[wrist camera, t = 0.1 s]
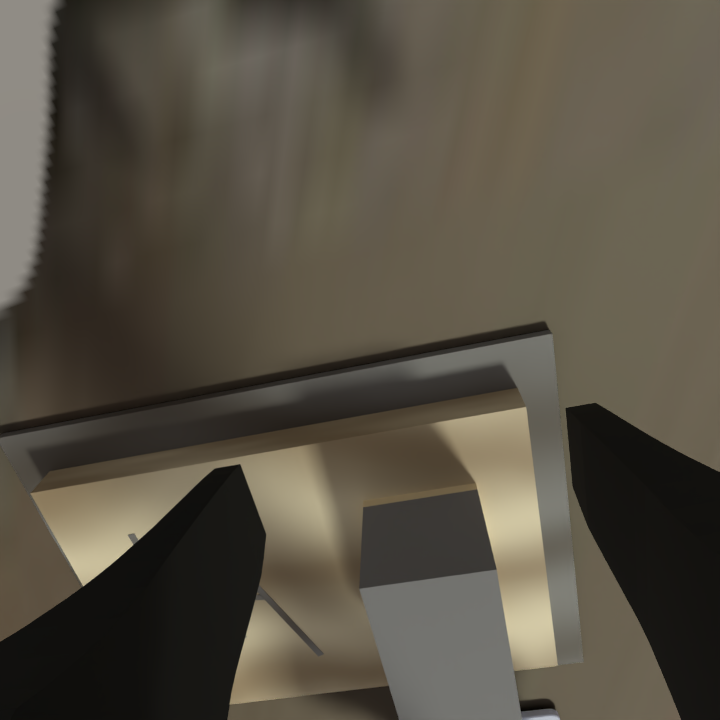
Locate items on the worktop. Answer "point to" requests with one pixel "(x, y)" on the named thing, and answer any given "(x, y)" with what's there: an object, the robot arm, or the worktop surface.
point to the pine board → (345, 402)
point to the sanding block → (437, 606)
